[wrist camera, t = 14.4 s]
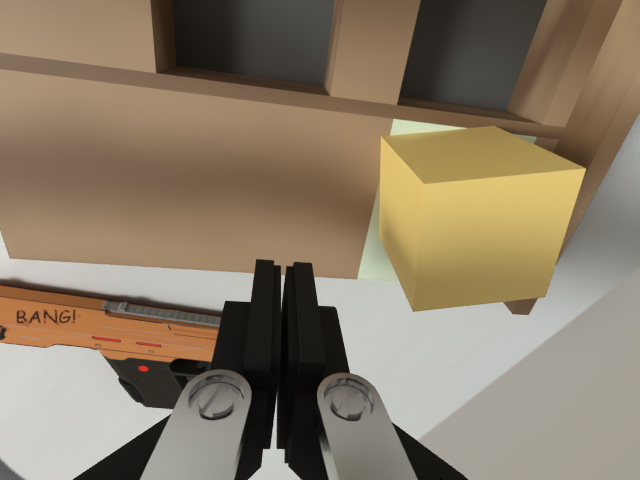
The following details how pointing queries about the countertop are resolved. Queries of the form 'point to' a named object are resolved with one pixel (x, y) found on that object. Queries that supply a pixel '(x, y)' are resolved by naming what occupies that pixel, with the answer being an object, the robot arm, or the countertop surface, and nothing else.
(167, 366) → the toy gun
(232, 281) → the countertop surface
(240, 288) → the countertop surface
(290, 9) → the wooden tray
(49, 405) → the countertop surface
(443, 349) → the countertop surface
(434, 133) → the block
